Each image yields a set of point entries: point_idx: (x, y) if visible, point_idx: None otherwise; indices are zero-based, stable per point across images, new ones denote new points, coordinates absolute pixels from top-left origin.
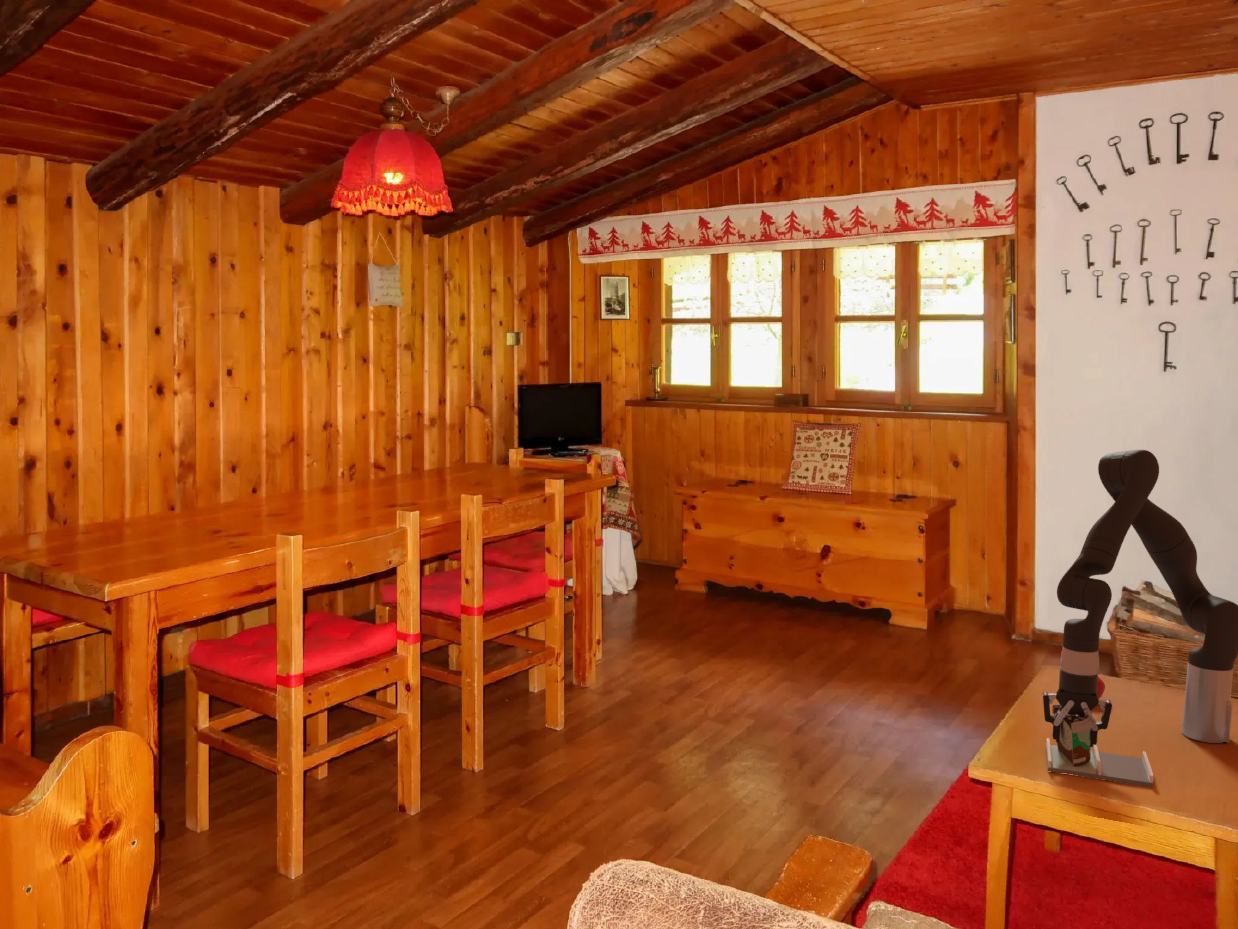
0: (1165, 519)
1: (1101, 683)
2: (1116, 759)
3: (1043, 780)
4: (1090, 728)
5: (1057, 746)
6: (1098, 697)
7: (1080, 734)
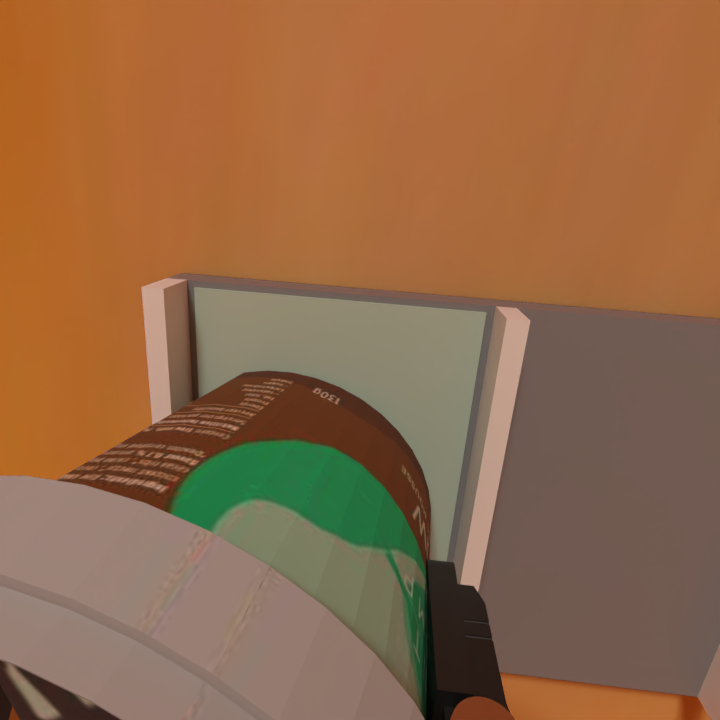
0: None
1: None
2: (622, 425)
3: None
4: (435, 715)
5: (231, 381)
6: None
7: None
